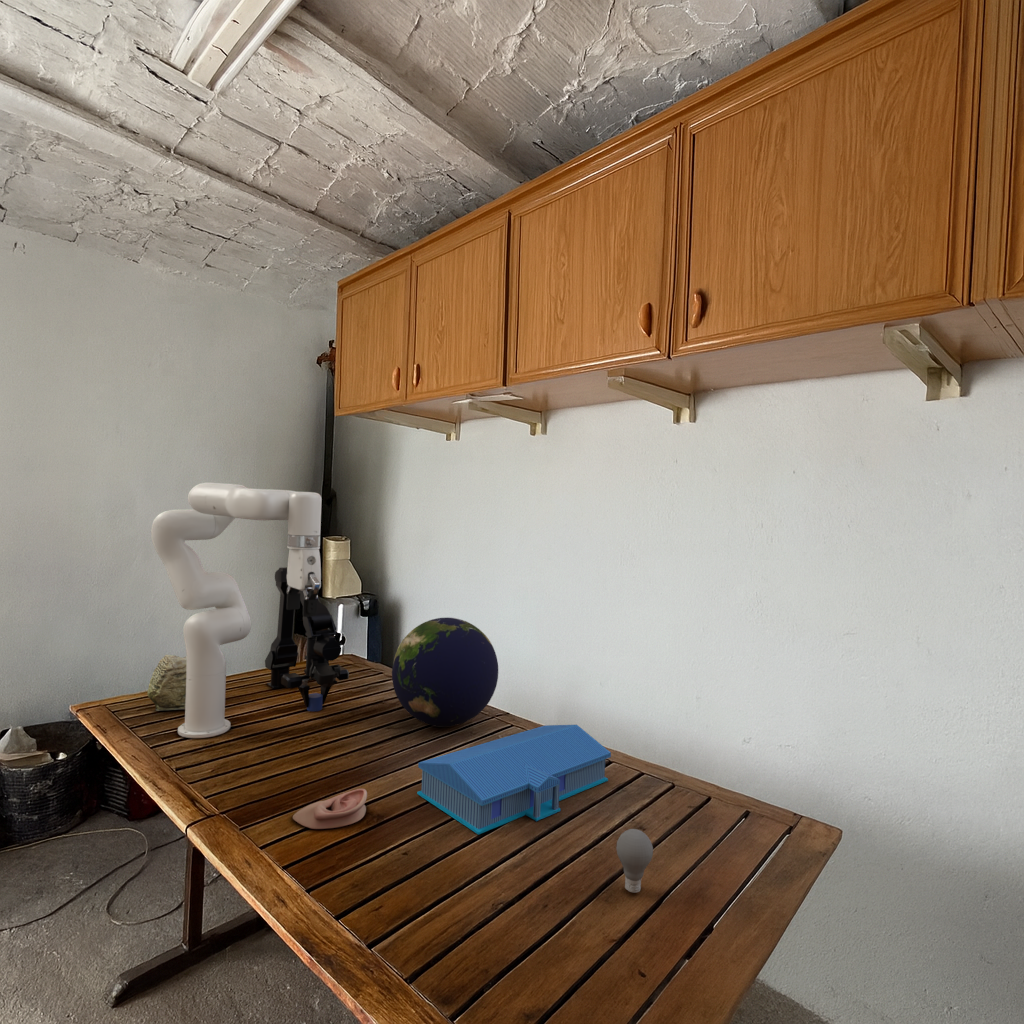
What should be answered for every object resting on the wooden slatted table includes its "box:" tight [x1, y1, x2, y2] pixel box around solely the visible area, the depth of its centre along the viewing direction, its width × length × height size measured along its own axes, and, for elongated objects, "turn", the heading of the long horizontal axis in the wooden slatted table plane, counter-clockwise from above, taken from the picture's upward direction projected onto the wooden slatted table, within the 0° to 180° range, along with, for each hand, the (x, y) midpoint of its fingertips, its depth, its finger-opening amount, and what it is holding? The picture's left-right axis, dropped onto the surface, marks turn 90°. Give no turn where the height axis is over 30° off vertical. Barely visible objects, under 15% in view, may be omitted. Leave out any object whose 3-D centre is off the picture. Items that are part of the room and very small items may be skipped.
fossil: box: [147, 654, 187, 712], centre depth 185 cm, size 9×18×15 cm, turn 132°
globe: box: [391, 616, 499, 728], centre depth 179 cm, size 30×30×30 cm
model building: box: [416, 724, 612, 835], centre depth 141 cm, size 39×24×10 cm, turn 132°
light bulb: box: [615, 828, 654, 894], centre depth 106 cm, size 6×6×10 cm
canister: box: [306, 692, 324, 713], centre depth 188 cm, size 4×4×4 cm
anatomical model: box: [292, 788, 368, 830], centre depth 126 cm, size 13×4×12 cm
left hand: (301, 612), depth 154 cm, fingers open, 9 cm apart
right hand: (314, 705), depth 188 cm, fingers closed on canister, 4 cm apart
